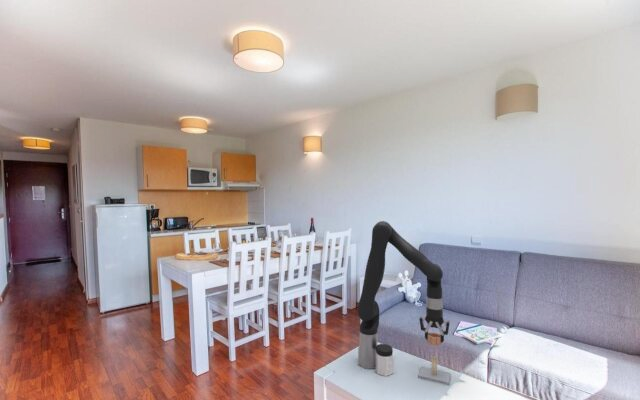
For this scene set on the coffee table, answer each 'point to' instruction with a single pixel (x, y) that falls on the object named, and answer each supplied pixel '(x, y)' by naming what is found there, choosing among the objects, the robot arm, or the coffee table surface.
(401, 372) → the coffee table surface
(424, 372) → the post block
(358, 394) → the coffee table surface
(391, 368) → the jar
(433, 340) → the ring
